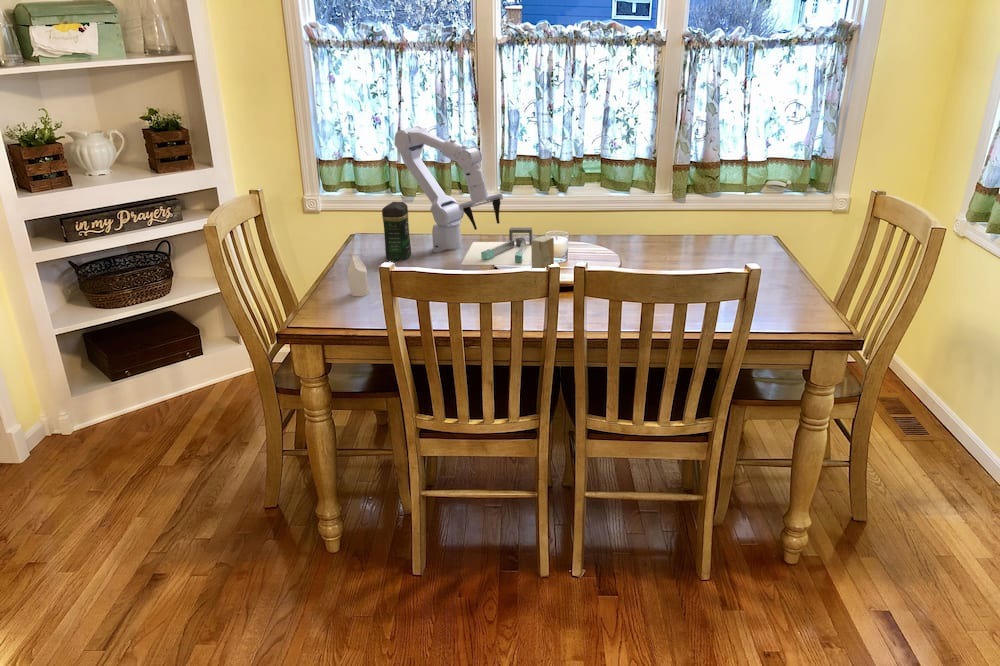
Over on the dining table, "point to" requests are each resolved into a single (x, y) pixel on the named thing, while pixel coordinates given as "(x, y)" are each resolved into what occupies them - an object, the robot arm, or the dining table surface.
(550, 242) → the skincare box
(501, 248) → the tong arm
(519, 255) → the tongs fixed
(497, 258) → the board
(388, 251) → the coffee jar
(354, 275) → the cream carton
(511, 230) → the grey u-shaped bracket
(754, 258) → the dining table surface
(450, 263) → the dining table surface
